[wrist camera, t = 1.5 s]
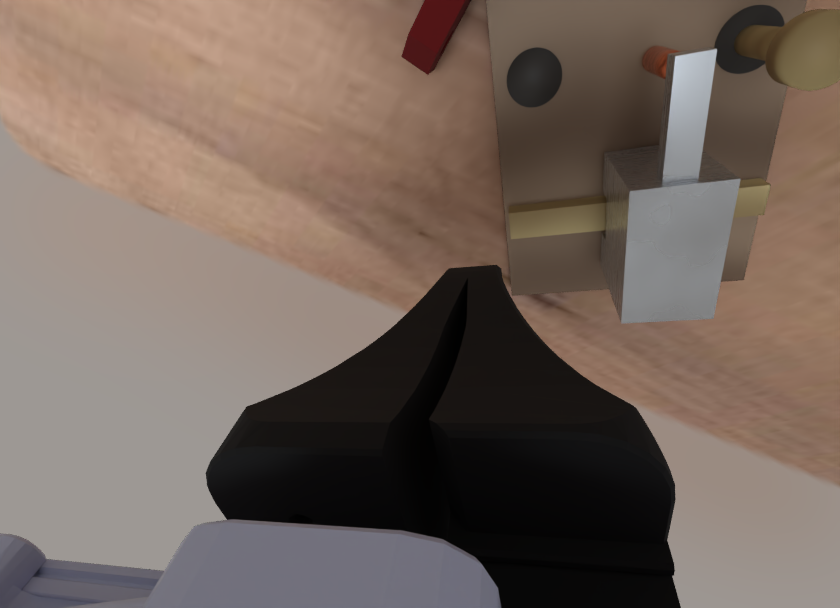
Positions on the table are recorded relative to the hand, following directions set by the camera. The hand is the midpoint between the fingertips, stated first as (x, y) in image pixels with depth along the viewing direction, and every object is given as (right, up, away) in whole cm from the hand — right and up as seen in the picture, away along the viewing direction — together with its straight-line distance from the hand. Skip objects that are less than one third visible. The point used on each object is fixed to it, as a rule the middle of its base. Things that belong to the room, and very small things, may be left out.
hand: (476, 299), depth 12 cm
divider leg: (+7, +5, +6) cm, 11 cm away
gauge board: (+7, +7, +7) cm, 12 cm away
